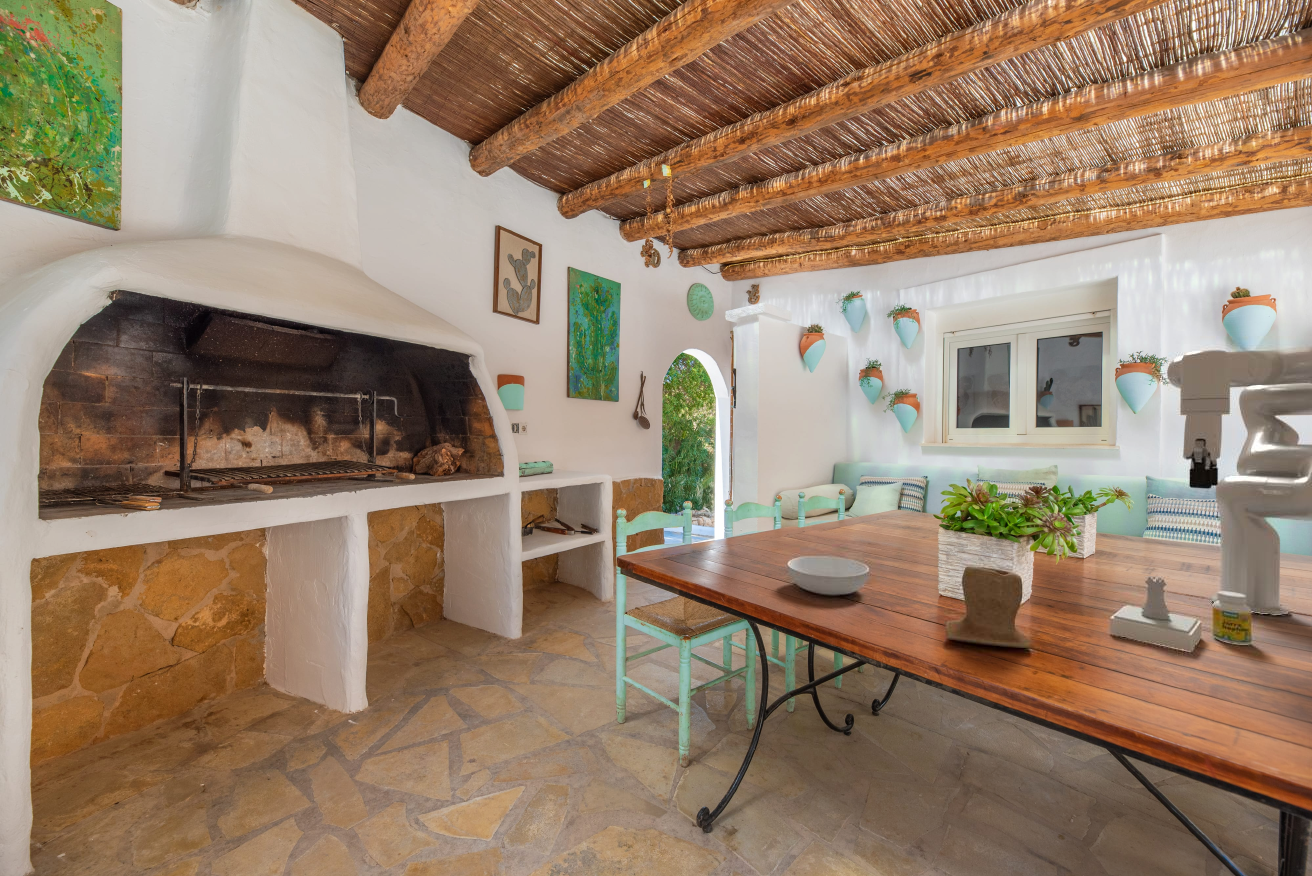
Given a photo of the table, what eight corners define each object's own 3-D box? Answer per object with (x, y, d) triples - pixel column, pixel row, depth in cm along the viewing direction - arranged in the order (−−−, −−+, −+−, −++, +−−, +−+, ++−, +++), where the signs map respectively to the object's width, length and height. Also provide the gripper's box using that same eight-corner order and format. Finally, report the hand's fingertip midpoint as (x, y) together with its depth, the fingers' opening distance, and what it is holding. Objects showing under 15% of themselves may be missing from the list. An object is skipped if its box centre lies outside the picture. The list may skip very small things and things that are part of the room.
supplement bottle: (1244, 639, 109) (1244, 592, 109) (1256, 648, 104) (1257, 599, 104) (1207, 634, 111) (1208, 588, 111) (1218, 643, 107) (1219, 595, 107)
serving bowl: (771, 585, 148) (771, 560, 148) (829, 576, 157) (829, 553, 157) (824, 607, 129) (824, 579, 129) (887, 596, 138) (887, 569, 138)
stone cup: (1018, 634, 111) (1018, 563, 111) (1037, 657, 100) (1038, 578, 100) (937, 626, 116) (937, 557, 116) (946, 646, 105) (947, 571, 105)
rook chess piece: (1140, 611, 113) (1140, 574, 113) (1169, 616, 110) (1169, 577, 110) (1141, 617, 110) (1141, 578, 110) (1171, 622, 107) (1171, 582, 107)
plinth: (1124, 621, 119) (1124, 604, 118) (1201, 638, 109) (1201, 618, 109) (1110, 634, 111) (1110, 615, 111) (1191, 653, 102) (1191, 632, 102)
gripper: (1187, 409, 124) (1186, 483, 125) (1173, 407, 114) (1172, 487, 114) (1234, 408, 118) (1234, 485, 119) (1224, 406, 108) (1223, 490, 108)
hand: (1203, 486), depth 116 cm, fingers open, 9 cm apart
